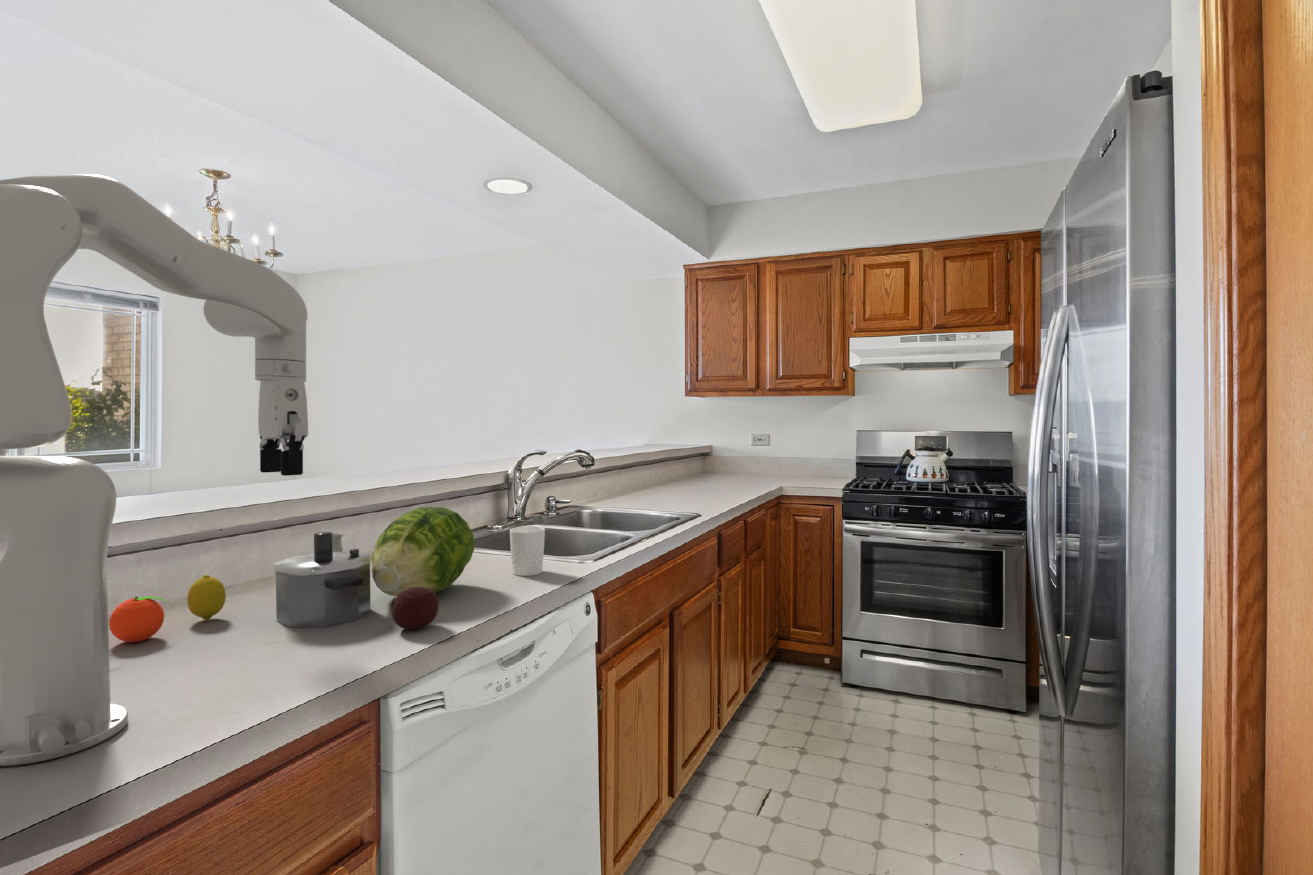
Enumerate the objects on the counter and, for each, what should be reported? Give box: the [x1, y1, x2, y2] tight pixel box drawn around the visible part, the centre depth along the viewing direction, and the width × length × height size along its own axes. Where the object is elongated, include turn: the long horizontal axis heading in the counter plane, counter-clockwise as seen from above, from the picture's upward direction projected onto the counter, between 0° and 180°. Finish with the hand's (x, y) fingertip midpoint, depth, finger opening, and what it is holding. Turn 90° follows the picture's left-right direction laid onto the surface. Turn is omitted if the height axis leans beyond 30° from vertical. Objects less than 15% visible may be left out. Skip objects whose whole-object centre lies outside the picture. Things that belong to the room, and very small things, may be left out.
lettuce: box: [371, 506, 475, 597], centre depth 132 cm, size 17×23×17 cm
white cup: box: [509, 525, 546, 577], centre depth 151 cm, size 8×8×10 cm
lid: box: [273, 531, 372, 576], centre depth 118 cm, size 16×16×6 cm
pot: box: [275, 563, 372, 629], centre depth 119 cm, size 19×14×9 cm
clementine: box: [108, 596, 173, 643], centre depth 105 cm, size 8×7×7 cm
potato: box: [391, 587, 440, 631], centre depth 112 cm, size 7×8×7 cm
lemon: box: [187, 574, 227, 621], centre depth 115 cm, size 6×6×8 cm
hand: (281, 473), depth 112 cm, fingers open, 9 cm apart
